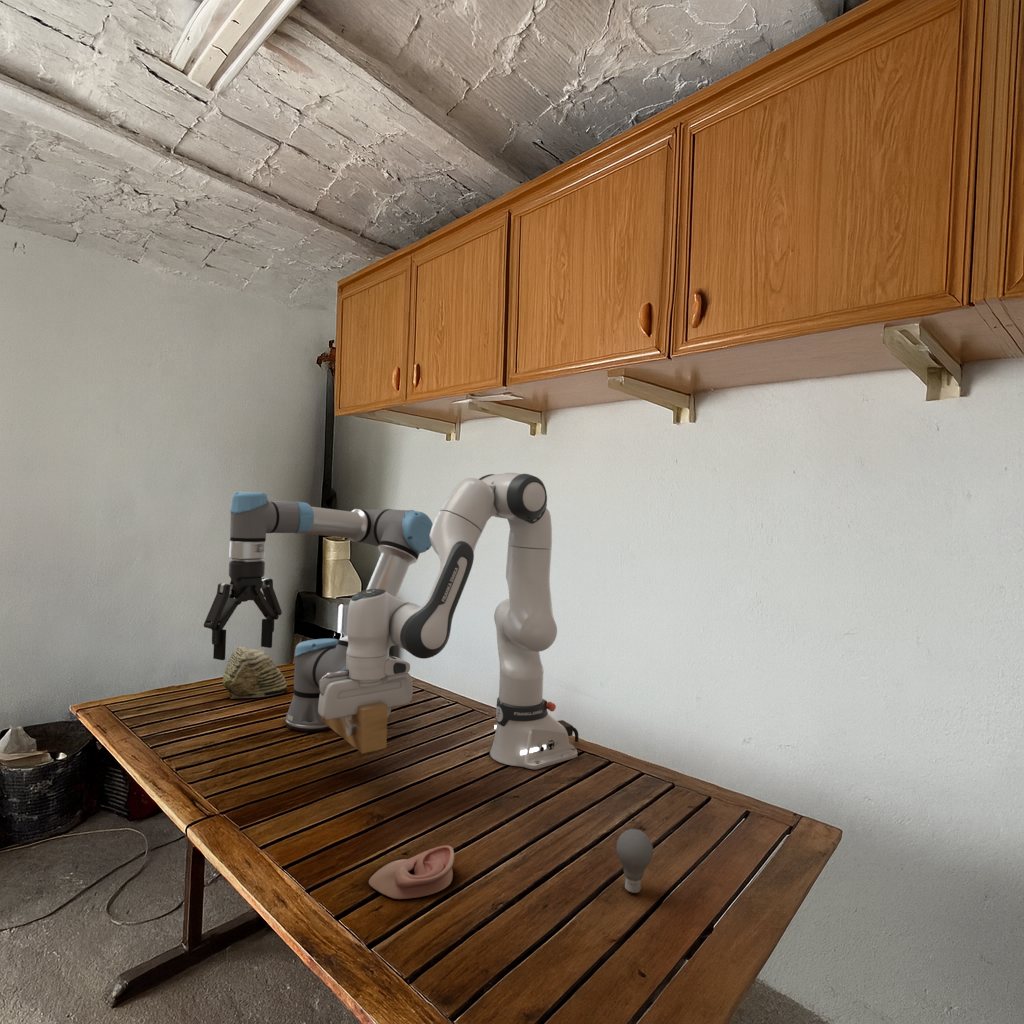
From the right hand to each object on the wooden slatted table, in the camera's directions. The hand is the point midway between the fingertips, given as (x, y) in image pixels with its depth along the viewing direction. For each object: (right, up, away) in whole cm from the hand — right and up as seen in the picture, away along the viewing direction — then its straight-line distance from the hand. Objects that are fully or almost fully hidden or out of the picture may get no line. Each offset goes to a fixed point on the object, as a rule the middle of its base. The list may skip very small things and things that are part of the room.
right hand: (366, 731), depth 134 cm
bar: (-4, -2, +6) cm, 8 cm away
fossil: (-50, -11, +64) cm, 82 cm away
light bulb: (+51, -17, -29) cm, 61 cm away
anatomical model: (+14, -15, -28) cm, 35 cm away
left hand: (-30, +14, +10) cm, 35 cm away
